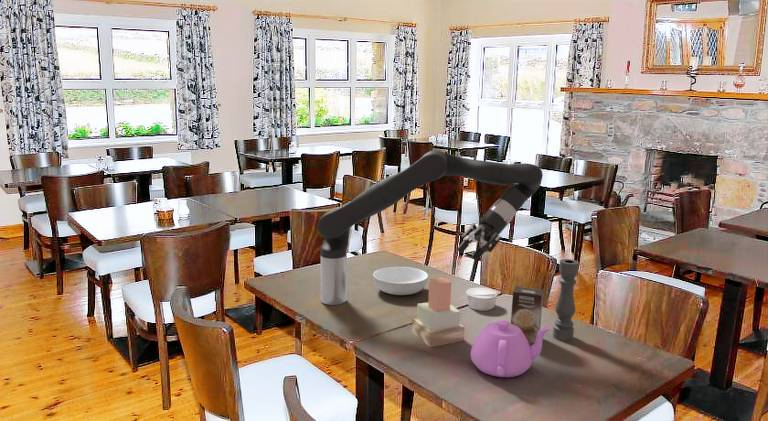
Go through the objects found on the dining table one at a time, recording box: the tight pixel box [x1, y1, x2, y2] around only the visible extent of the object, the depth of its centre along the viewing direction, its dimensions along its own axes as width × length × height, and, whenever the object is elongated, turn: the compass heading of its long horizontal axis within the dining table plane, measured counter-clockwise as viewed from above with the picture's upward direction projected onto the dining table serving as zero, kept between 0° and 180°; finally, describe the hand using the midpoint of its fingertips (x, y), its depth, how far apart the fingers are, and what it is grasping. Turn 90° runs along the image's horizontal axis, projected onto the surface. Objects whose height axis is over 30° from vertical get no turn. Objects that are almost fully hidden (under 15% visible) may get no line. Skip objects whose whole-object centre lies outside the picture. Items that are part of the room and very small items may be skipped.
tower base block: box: [411, 317, 465, 348], centre depth 197 cm, size 12×12×5 cm
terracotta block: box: [427, 277, 452, 312], centre depth 194 cm, size 5×5×9 cm
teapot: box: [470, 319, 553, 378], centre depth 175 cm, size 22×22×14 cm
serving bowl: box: [372, 266, 429, 296], centre depth 237 cm, size 21×21×7 cm
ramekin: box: [465, 287, 498, 312], centre depth 223 cm, size 11×11×5 cm
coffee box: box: [510, 285, 544, 344], centre depth 195 cm, size 9×6×16 cm
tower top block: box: [416, 302, 461, 330], centre depth 196 cm, size 10×10×5 cm
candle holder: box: [552, 258, 580, 342], centre depth 196 cm, size 6×6×25 cm
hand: (466, 255), depth 196 cm, fingers open, 8 cm apart
